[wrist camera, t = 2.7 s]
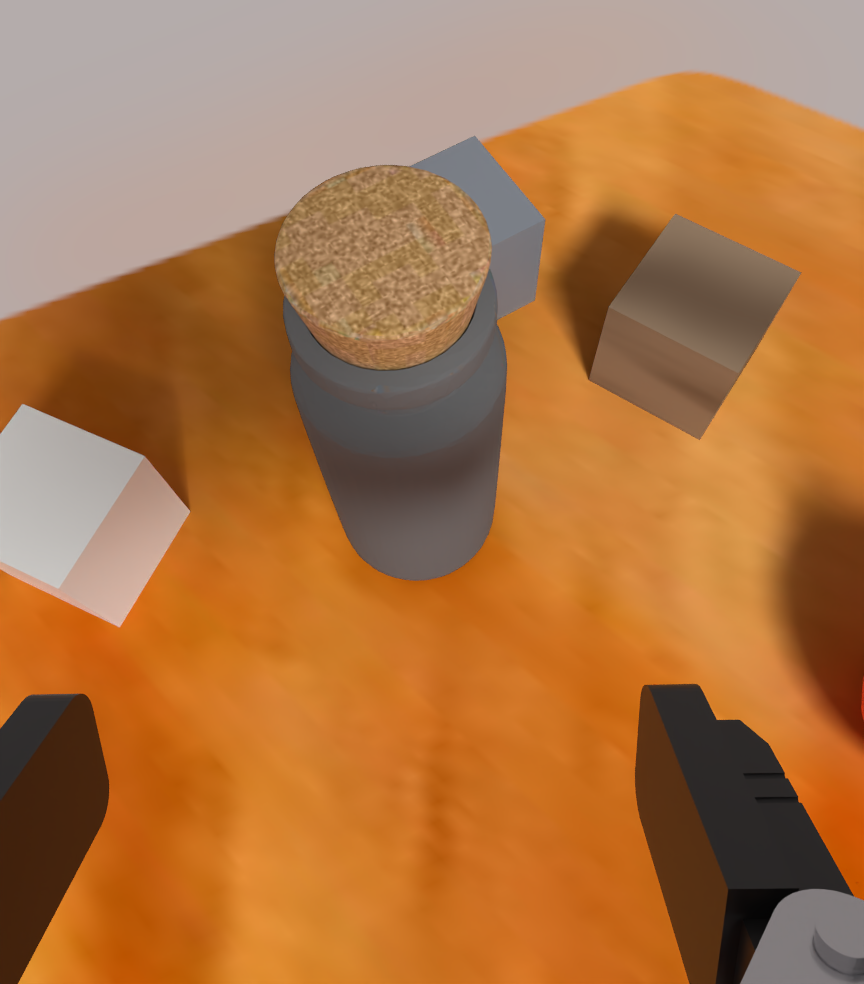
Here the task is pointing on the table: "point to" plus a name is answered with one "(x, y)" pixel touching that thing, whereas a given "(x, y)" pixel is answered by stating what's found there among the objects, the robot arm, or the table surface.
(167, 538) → the offwhite block
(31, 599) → the table surface
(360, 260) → the bottle
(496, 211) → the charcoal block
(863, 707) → the peach
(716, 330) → the walnut block
